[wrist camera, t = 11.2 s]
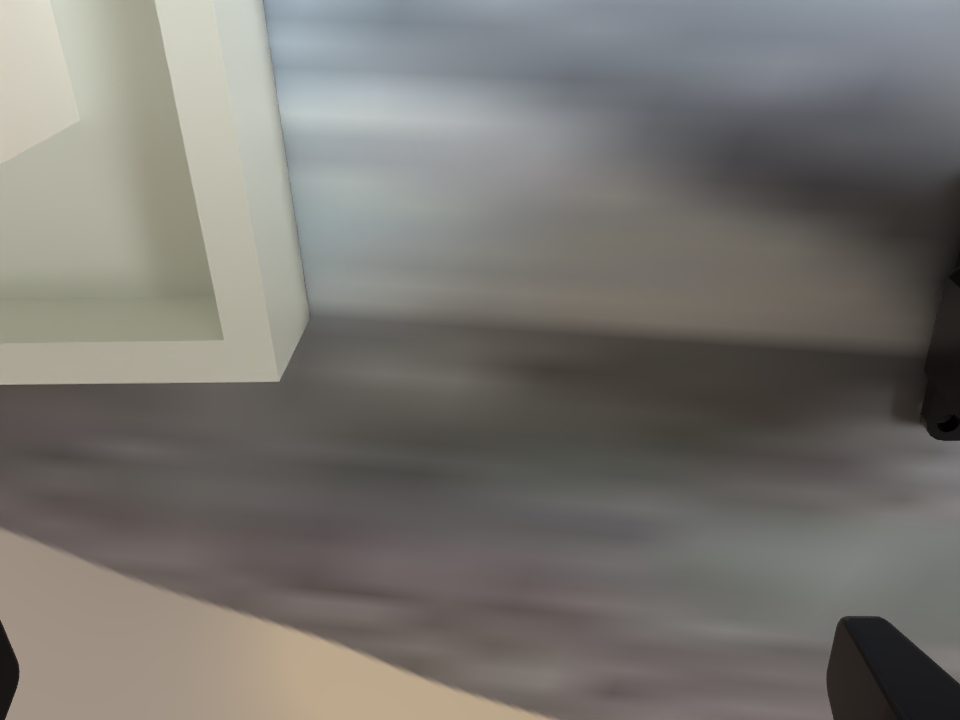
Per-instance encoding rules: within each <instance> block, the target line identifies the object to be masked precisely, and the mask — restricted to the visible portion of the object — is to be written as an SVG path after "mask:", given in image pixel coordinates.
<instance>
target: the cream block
mask: <svg viewBox="0 0 960 720" xmlns="http://www.w3.org/2000/svg"><path fill="white" fill-rule="evenodd" d="M78 121H80V118H79V114H78V110H77V106H76V102H75V98H74V94H73V90H72V86H71V82H70V78H69V74H68V70H67V66H66V62H65V58H64V54H63V50H62V47H61V43H60V39H59V35H58V31H57V27H56V23H55V19H54V15H53V11H52V7H51V3H50V0H0V164H2V163H4V162H6V161H8V160H9V159H11V158H13V157H15V156H17V155H18V154H20V153H22V152H24V151H26V150H27V149H29V148H31V147H33V146H35V145H36V144H38V143H40V142H42V141H44V140H45V139H47V138H49V137H51V136H53V135H55V134H56V133H58V132H60V131H62V130H64V129H65V128H67V127H69V126H71V125H73V124H74V123H76V122H78Z"/></svg>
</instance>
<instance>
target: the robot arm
mask: <svg viewBox="0 0 960 720" xmlns="http://www.w3.org/2000/svg"><path fill="white" fill-rule="evenodd" d="M924 372H925V374H926V375H927V377H928V378H929V382H928V386H927V390H926V394H925V399H924V403H923V407H922V411H921V423H922V424H923V426H924V428H925V429H926V430H927V432H928V433H929V434H930V436H932V437H933V438H935V439H937V440H943V441H960V254H959V258H958V262H957V266H956V268H955V269H954V270H953V271H952V272H951V273H950V274H949V275H948V276H947V277H946V279H945V284H944V288H943V292H942V296H941V300H940V305H939V309H938V313H937V317H936V322H935V326H934V330H933V334H932V338H931V343H930V347H929V351H928V355H927V359H926V364H925V368H924ZM949 414H953V415H952V416H951V418H950V419H949V420H948V421H946V422H943V423H938V422H939V420H940V419H941V418H942V417H944V416H945V415H949ZM826 680H827V691H828V697H829V701H830V706H831V710H832V714H833V719H834V720H960V684H959V683H958V682H957V681H956V680H954V679H953V678H952V677H951V676H950V675H949V674H948V673H946V672H945V671H944V670H943V669H942V668H941V667H940V666H938V665H937V664H936V663H935V662H934V661H933V660H932V659H930V658H929V657H928V656H927V655H926V654H925V653H924V652H923V651H921V650H920V649H919V648H918V647H917V646H916V645H915V644H913V643H912V642H911V641H910V640H909V639H908V638H907V637H905V636H904V635H903V634H902V633H901V632H900V631H899V630H897V629H896V628H895V627H894V626H893V625H892V624H891V623H889V622H888V621H887V620H885V619H883V618H881V617H877V616H846V617H843V618H841V619H840V621H839V622H838V624H837V627H836V631H835V636H834V641H833V645H832V650H831V654H830V659H829V664H828V668H827V678H826ZM18 681H19V664H18V661H17V658H16V656H15V654H14V651H13V649H12V647H11V644H10V642H9V639H8V637H7V635H6V632H5V630H4V627H3V625H2V623H1V621H0V720H5V718H6V715H7V713H8V710H9V707H10V705H11V702H12V699H13V697H14V694H15V691H16V689H17V685H18Z"/></svg>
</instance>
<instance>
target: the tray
mask: <svg viewBox="0 0 960 720" xmlns="http://www.w3.org/2000/svg"><path fill="white" fill-rule="evenodd" d="M50 3H51V7H52V11H53V15H54V19H55V23H56V27H57V31H58V35H59V39H60V43H61V47H62V50H63V54H64V58H65V62H66V66H67V70H68V74H69V78H70V82H71V86H72V90H73V94H74V98H75V102H76V106H77V110H78V114H79V118H80V121H78V122H76V123H74V124H73V125H71V126H69V127H67V128H65V129H64V130H62V131H60V132H58V133H56V134H55V135H53V136H51V137H49V138H47V139H45V140H44V141H42V142H40V143H38V144H36V145H35V146H33V147H31V148H29V149H27V150H26V151H24V152H22V153H20V154H18V155H17V156H15V157H13V158H11V159H9V160H8V161H6V162H4V163H2V164H0V385H16V384H111V383H206V382H279V381H280V379H281V377H282V375H283V373H284V371H285V369H286V367H287V365H288V363H289V361H290V359H291V357H292V355H293V352H294V350H295V348H296V346H297V344H298V342H299V340H300V338H301V336H302V334H303V332H304V330H305V328H306V326H307V324H308V322H309V320H310V315H309V308H308V301H307V295H306V288H305V281H304V274H303V268H302V261H301V254H300V248H299V241H298V234H297V227H296V221H295V214H294V207H293V200H292V194H291V187H290V180H289V173H288V167H287V160H286V153H285V147H284V140H283V133H282V126H281V120H280V113H279V106H278V99H277V93H276V86H275V79H274V73H273V66H272V59H271V52H270V46H269V39H268V32H267V25H266V19H265V12H264V5H263V0H50Z"/></svg>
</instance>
